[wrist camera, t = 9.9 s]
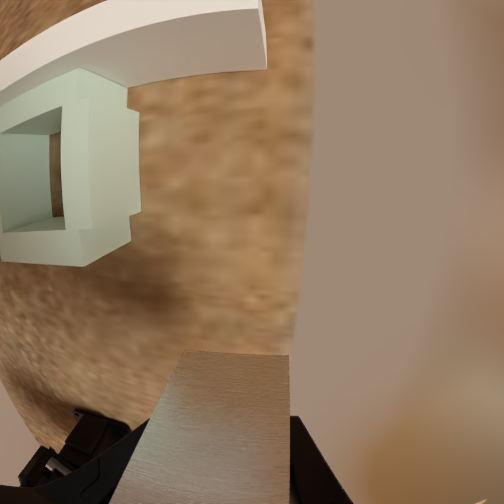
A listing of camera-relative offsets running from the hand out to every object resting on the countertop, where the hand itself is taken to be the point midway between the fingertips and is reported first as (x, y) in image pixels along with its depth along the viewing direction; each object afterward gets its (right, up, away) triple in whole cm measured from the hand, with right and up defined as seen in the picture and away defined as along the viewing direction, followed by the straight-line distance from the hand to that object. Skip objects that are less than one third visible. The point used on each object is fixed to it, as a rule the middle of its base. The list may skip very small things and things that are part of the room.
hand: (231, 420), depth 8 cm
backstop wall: (-10, +16, +4) cm, 19 cm away
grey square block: (0, 0, +1) cm, 2 cm away
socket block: (-9, +10, +6) cm, 15 cm away
